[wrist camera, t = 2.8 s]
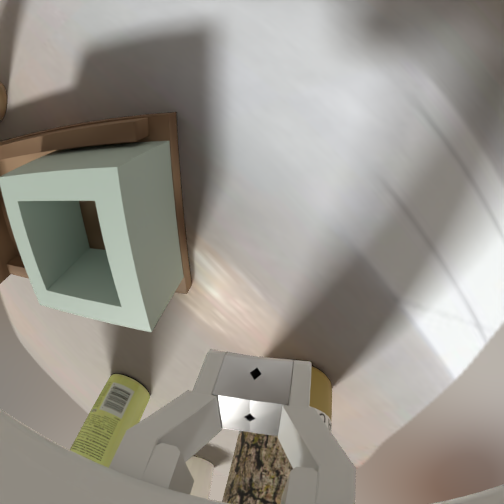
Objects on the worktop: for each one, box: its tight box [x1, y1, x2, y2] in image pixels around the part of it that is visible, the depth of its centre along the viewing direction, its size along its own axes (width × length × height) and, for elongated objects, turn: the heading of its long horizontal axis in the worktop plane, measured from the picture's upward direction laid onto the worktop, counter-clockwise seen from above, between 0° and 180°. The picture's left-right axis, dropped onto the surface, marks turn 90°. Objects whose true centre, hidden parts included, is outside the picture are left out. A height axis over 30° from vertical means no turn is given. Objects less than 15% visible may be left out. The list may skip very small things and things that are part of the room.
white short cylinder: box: [185, 456, 214, 499], centre depth 36 cm, size 7×7×7 cm
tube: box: [70, 374, 150, 468], centre depth 22 cm, size 6×5×20 cm
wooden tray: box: [0, 112, 192, 294], centre depth 17 cm, size 11×18×6 cm, turn 90°
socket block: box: [0, 141, 184, 332], centre depth 16 cm, size 8×8×5 cm
